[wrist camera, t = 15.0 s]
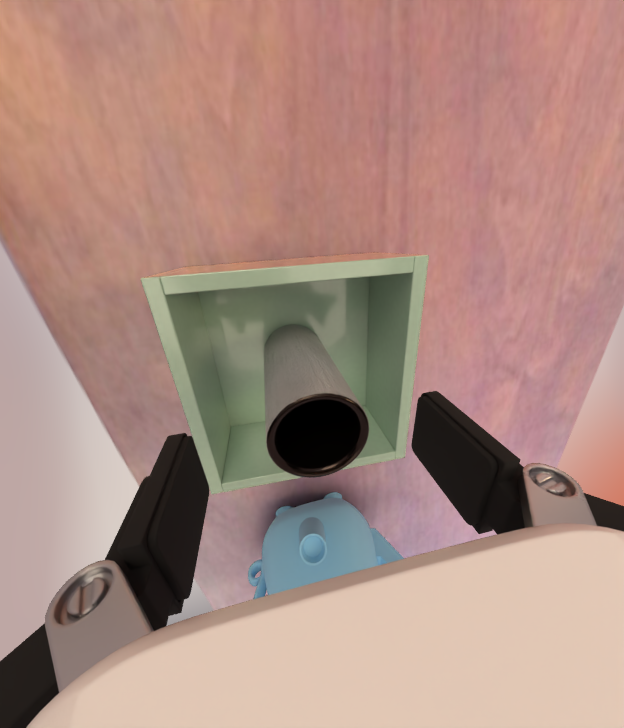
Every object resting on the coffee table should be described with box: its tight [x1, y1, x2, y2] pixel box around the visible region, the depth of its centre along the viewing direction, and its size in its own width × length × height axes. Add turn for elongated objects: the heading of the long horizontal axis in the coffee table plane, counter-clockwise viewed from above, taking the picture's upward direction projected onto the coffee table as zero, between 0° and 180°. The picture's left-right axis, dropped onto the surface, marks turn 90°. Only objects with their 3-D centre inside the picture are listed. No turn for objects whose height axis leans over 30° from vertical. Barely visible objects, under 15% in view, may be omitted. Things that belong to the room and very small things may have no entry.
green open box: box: [141, 252, 429, 494], centre depth 18 cm, size 14×14×7 cm
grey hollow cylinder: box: [264, 324, 369, 477], centre depth 16 cm, size 4×4×10 cm
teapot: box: [248, 492, 404, 599], centre depth 25 cm, size 15×14×11 cm
